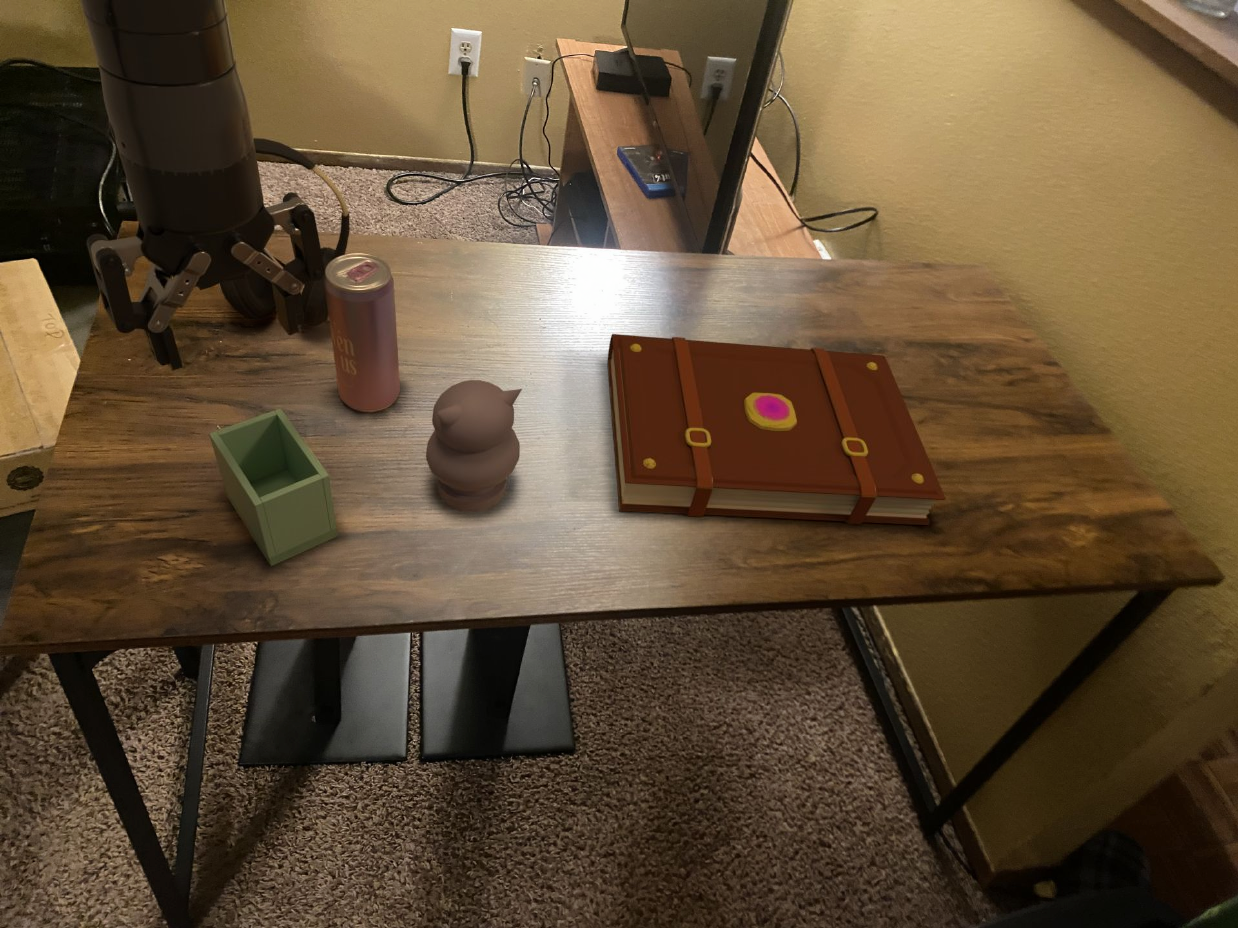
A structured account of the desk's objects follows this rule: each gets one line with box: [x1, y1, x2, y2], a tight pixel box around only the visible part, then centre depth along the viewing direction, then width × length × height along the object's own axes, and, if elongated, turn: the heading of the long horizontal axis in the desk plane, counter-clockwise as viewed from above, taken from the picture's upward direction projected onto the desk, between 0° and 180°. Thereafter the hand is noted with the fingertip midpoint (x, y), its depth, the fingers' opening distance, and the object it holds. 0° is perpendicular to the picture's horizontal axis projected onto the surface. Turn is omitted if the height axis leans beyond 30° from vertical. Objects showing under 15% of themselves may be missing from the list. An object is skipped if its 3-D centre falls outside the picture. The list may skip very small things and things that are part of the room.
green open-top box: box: [208, 408, 339, 567], centre depth 70 cm, size 8×6×9 cm
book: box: [607, 333, 947, 526], centre depth 87 cm, size 23×32×5 cm
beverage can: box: [324, 252, 401, 413], centre depth 79 cm, size 6×6×15 cm
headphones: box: [218, 137, 351, 328], centre depth 84 cm, size 9×15×20 cm, turn 90°
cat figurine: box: [425, 379, 523, 513], centre depth 74 cm, size 8×8×12 cm
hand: (233, 345), depth 62 cm, fingers open, 8 cm apart
